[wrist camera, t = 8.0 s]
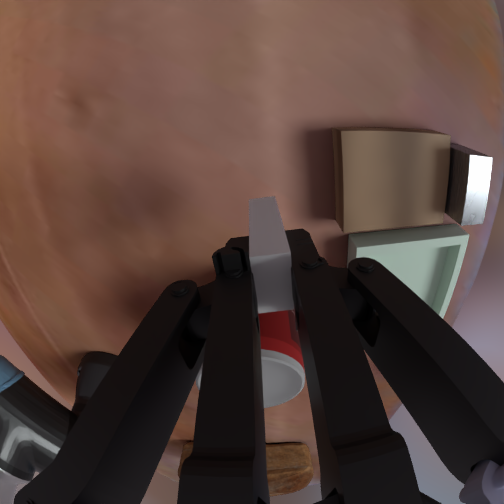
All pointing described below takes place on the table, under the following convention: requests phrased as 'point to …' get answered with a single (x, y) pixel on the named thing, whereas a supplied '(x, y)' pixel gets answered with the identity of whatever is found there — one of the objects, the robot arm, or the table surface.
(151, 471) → the robot arm
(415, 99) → the table surface
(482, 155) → the bench dog
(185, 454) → the bread
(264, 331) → the canned food
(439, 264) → the tray
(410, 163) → the tan block
